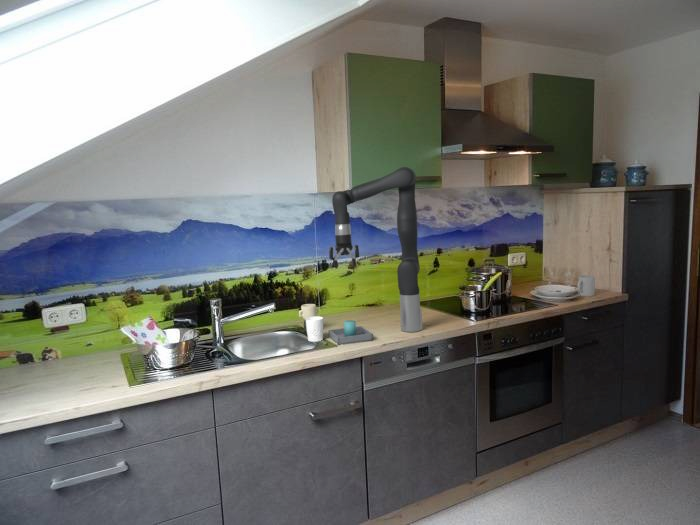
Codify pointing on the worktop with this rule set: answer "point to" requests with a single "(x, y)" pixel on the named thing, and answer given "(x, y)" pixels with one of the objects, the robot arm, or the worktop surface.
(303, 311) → the character mug
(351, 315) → the worktop surface
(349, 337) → the tray
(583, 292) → the mug
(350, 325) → the teal capsule
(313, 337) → the white cup
